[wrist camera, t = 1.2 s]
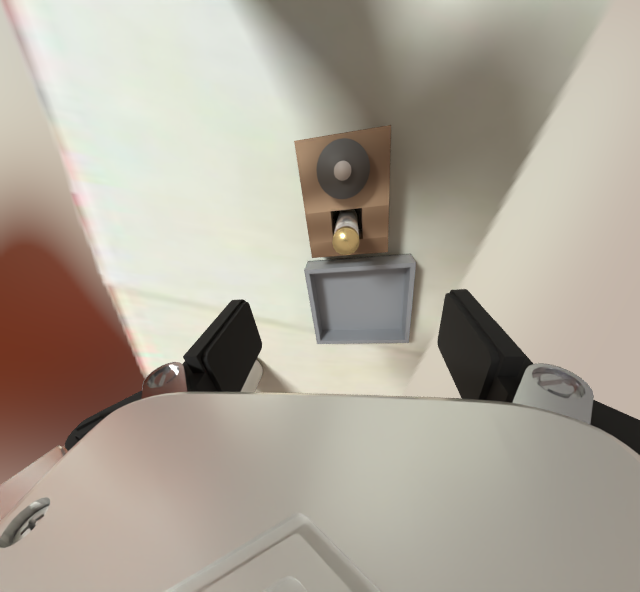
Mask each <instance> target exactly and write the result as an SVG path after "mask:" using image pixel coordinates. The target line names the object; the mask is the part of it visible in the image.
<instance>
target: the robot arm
mask: <svg viewBox="0 0 640 592" xmlns="http://www.w3.org/2000/svg"><path fill="white" fill-rule="evenodd" d="M438 347H439V349H440V352H441V354H442V356H443V358H444V361H445V363H446V365H447V367H448V369H449V371H450V373H451V376H452V378H453V380H454V382H455V385H456V387H457V389H458V391H459V393H460V395H461V398H462V399H459V398H436V397H407V396H379V395H346V394H310V393H268V392H241V390H242V388H243V386H244V384H245V382H246V380H247V377H248V375H249V373H250V371H251V369H252V367H253V365H254V363H255V361H256V359H257V357H258V355H259V353H260V351H261V348H262V342H261V339H260V335H259V332H258V329H257V326H256V323H255V320H254V317H253V314H252V311H251V308H250V305H249V303H248V302H246V301H245V300H232V301H231V302H230V303H229V304H228V305H227V306H226V308H225V309H224V310H223V311H222V312H221V313H220V315H219V316H218V317H217V318H216V319H215V320H214V321H213V323H212V324H211V325H210V326H209V327H208V328H207V330H206V331H205V332H204V333H203V334H202V335H201V337H200V338H199V339H198V340H197V341H196V342H195V343H194V345H193V346H192V347H191V348H190V349H189V350H188V352H187V353H186V354H185V355H184V356H183V358H184V359H185V362H184V363H183V364H181V363H179V362H172V363H168V364H165V365H162V366H161V367H159V368H157V369H155V370H154V371H153V372H151V373H150V374H149V375H148V376H147V377H146V379H145V380H144V382H143V386H142V391H140V392H138V393H136V394H134V395H132V396H130V397H128V398H126V399H124V400H122V401H120V402H118V403H117V404H114V405H112V406H110V407H108V408H106V409H104V410H103V411H101V412H99V413H97V414H95V415H93V416H91V417H89V418H87V419H86V420H84V421H83V422H81V423H80V424H79V425H78V426H77V427H76V428H75V429H74V430H73V431H72V433H71V434H70V435H69V436H68V438H67V440H66V443H65V446H64V447H60V446H59V445H58V446H57V447H55V448H54V449H52V450H51V451H49V452H48V453H46V454H45V455H44V456H42V457H41V458H39V459H38V460H36V461H35V462H33V463H32V464H31V465H29V466H28V467H26V468H25V469H23V470H22V471H20V472H19V473H17V474H16V475H14V476H13V477H11V478H10V479H8V480H7V481H6V482H4V483H3V484H1V485H0V592H640V420H638V419H636V418H633V417H631V416H629V415H627V414H624V413H622V412H620V411H618V410H615V409H613V408H611V407H608V406H606V405H604V404H602V403H600V402H597V401H595V400H593V398H594V396H593V391H592V389H591V388H590V386H589V385H588V384H587V383H586V382H585V381H584V380H582V379H581V378H580V377H579V376H577V375H575V374H574V373H572V372H570V371H568V370H566V369H563V368H561V367H557V366H554V365H550V364H533V363H532V362H531V361H530V359H529V358H528V357H527V356H526V355H525V354H524V353H523V352H522V350H521V349H520V348H519V347H518V346H517V345H516V344H515V343H514V342H513V340H512V339H511V338H510V337H509V336H508V335H507V334H506V333H505V331H504V330H503V329H502V328H501V327H500V326H499V325H498V324H497V322H496V321H495V320H493V318H492V317H491V316H490V315H489V314H488V313H487V312H486V311H485V310H484V308H483V307H482V306H481V305H480V304H479V303H478V301H477V300H476V299H475V298H474V297H473V296H472V295H471V293H470V292H469V291H468V290H466V289H461V290H451V291H450V293H447V294H446V295H445V300H444V306H443V312H442V318H441V324H440V329H439V336H438Z"/></svg>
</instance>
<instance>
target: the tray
mask: <svg viewBox="0 0 640 592" xmlns="http://www.w3.org/2000/svg"><path fill="white" fill-rule="evenodd" d="M415 269H416V262H415V260H414V258H413V257H412V255H411V254H399V255H386V256H372V257H359V258H345V259H332V260H319V261H308V262H307V265H306V267H305V270H304V271H305V277H306V283H307V288H308V294H309V300H310V305H311V311H312V317H313V323H314V328H315V334H316V340H317V344H347V343H409V334H410V323H411V312H412V301H413V290H414V280H415Z"/></svg>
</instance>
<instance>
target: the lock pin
mask: <svg viewBox="0 0 640 592" xmlns="http://www.w3.org/2000/svg"><path fill="white" fill-rule="evenodd" d="M332 244H333V247H334V249H335V251H336V252H338V253H339V254H341V255H350V254H352V253H354V252H355V251H356V250H357V248H358V246H359V232H358V220H357V213H356V211H355V210H354V209H347V210H341V211H340V212H339V215H338V219H337V223H336V228H335V232H334V236H333V241H332Z"/></svg>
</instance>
